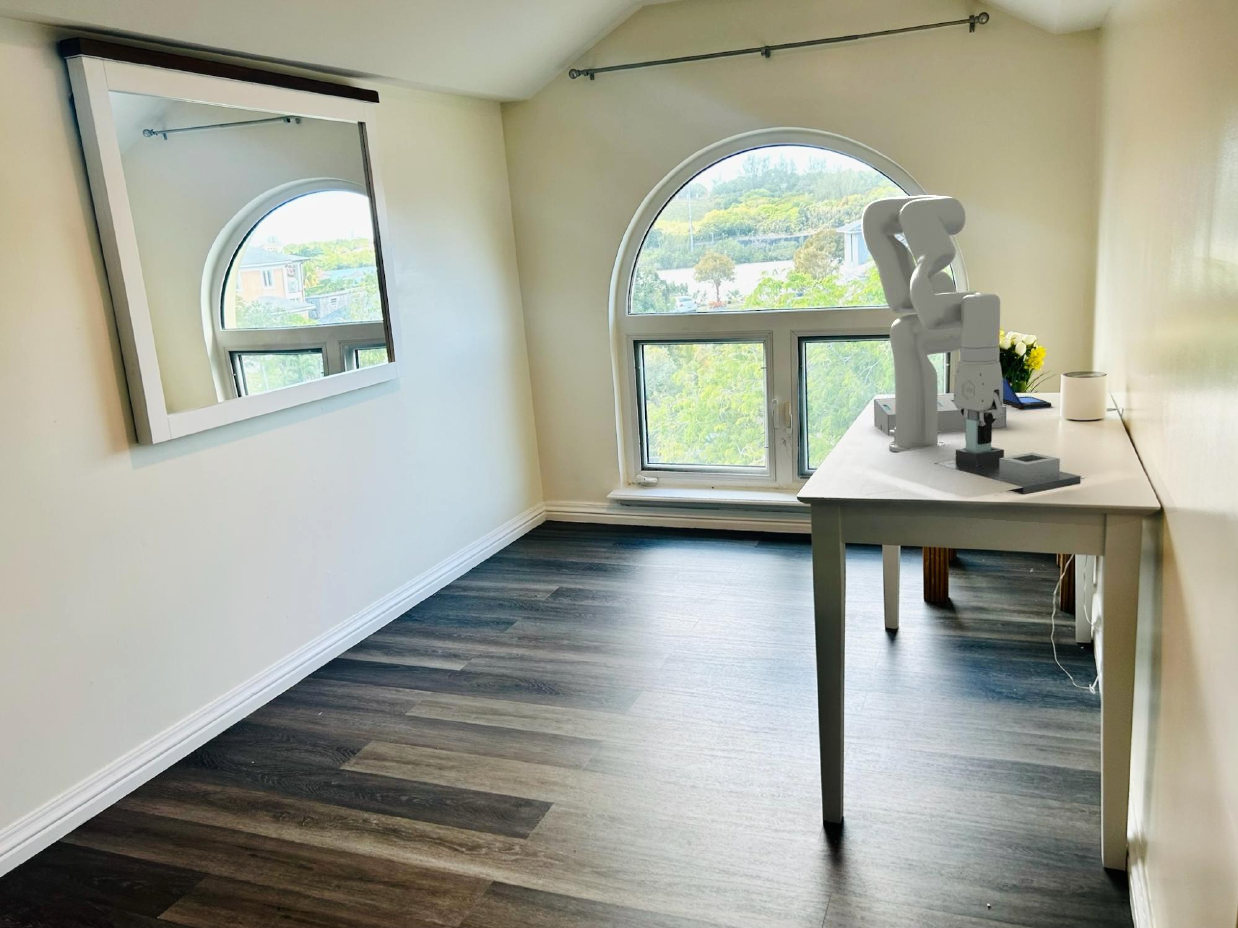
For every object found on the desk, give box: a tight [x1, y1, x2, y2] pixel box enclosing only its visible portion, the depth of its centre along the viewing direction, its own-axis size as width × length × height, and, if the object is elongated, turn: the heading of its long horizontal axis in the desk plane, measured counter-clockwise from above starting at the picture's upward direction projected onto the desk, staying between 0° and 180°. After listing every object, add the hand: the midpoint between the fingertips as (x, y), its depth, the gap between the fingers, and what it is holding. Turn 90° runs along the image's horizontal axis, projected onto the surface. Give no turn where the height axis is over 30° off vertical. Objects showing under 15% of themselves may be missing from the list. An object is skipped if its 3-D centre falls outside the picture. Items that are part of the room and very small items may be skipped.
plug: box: [965, 410, 992, 453], centre depth 201 cm, size 3×4×10 cm
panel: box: [933, 446, 1082, 496], centre depth 195 cm, size 26×14×5 cm, turn 21°
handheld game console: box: [1002, 377, 1052, 411], centre depth 273 cm, size 16×13×9 cm
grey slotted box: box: [873, 393, 1007, 436], centre depth 252 cm, size 30×14×8 cm, turn 89°
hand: (978, 441), depth 202 cm, fingers closed on plug, 2 cm apart
